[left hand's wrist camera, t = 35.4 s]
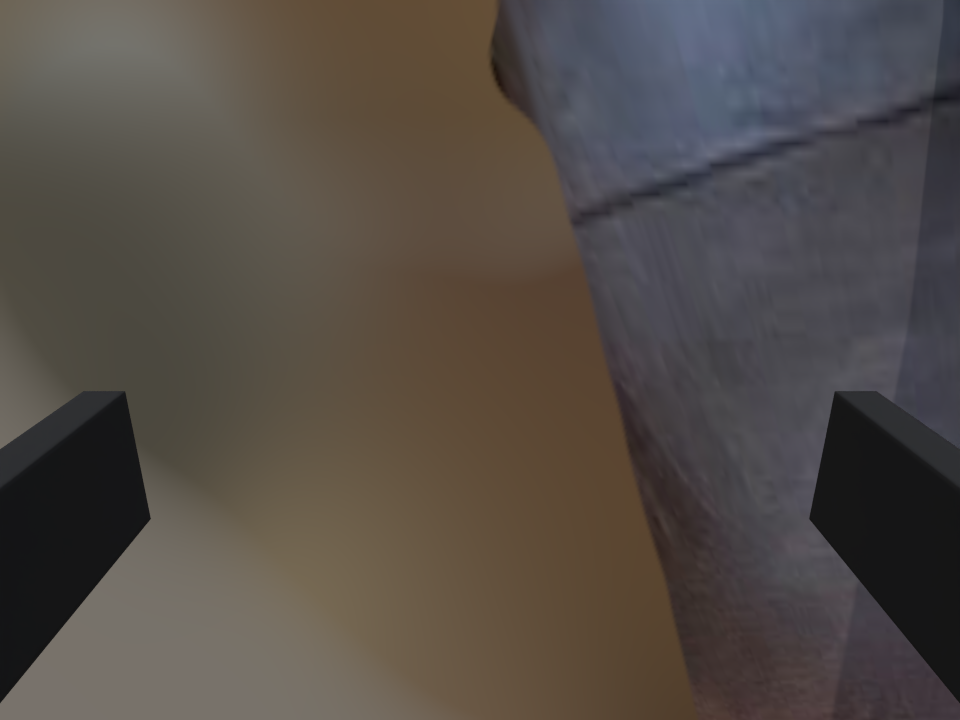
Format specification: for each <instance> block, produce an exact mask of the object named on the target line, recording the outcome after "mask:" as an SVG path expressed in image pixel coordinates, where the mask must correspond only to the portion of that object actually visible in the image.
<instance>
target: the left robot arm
mask: <svg viewBox="0 0 960 720" xmlns="http://www.w3.org/2000/svg"><path fill="white" fill-rule="evenodd" d="M150 519H151V518H150V513H149V508H148V503H147V498H146V493H145V488H144V483H143V478H142V473H141V468H140V464H139V458H138V453H137V449H136V444H135V439H134V434H133V428H132V424H131V419H130V414H129V409H128V404H127V399H126V394H125V391H84V392H82V393H81V394H79V395H78V396H76V397H75V398H73V399H72V400H70V401H69V402H68V403H66V404H65V405H63V406H62V407H60V408H59V409H57V410H56V411H55V412H53V413H52V414H50V415H49V416H47V417H46V418H45V419H43V420H42V421H40V422H39V423H37V424H36V425H35V426H33V427H32V428H30V429H29V430H27V431H26V432H24V433H23V434H22V435H20V436H19V437H17V438H16V439H14V440H13V441H11V442H10V443H9V444H7V445H6V446H4V447H3V448H1V449H0V703H1V701H2V700H3V699H4V698H5V697H6V695H7V694H8V693H9V692H10V690H11V689H12V688H13V687H14V686H15V684H16V683H17V682H18V681H19V679H20V678H21V677H22V676H23V675H24V673H25V672H26V671H27V670H28V668H29V667H30V666H31V665H32V663H33V662H34V661H35V660H36V659H37V657H38V656H39V655H40V654H41V653H42V651H43V650H44V649H45V647H46V646H47V645H48V644H49V643H50V641H51V640H52V639H53V638H54V637H55V635H56V634H57V633H58V632H59V630H60V629H61V628H62V627H63V626H64V624H65V623H66V622H67V621H68V619H69V618H70V617H71V616H72V614H73V613H74V612H75V611H76V610H77V608H78V607H79V606H80V605H81V604H82V602H83V601H84V600H85V599H86V597H87V596H88V595H89V594H90V592H91V591H92V590H93V589H94V588H95V586H96V585H97V584H98V583H99V582H100V580H101V579H102V578H103V577H104V575H105V574H106V573H107V572H108V570H109V569H110V568H111V567H112V566H113V564H114V563H115V562H116V561H117V559H118V558H119V557H120V556H121V555H122V553H123V552H124V551H125V550H126V548H127V547H128V546H129V545H130V544H131V542H132V541H133V540H134V539H135V537H136V536H137V535H138V534H139V533H140V531H141V530H142V529H143V528H144V526H145V525H146V524H147V523H148V522H149V520H150ZM809 519H810V520H811V522H812V523H813V524H814V525H815V526H816V528H817V529H818V530H819V531H820V533H821V534H822V535H823V536H824V537H825V539H826V540H827V541H828V542H829V544H830V545H831V546H832V547H833V548H834V550H835V551H836V552H837V553H838V555H839V556H840V557H841V558H842V560H843V561H844V562H845V563H846V564H847V566H848V567H849V568H850V569H851V571H852V572H853V573H854V574H855V575H856V577H857V578H858V579H859V580H860V582H861V583H862V584H863V585H864V586H865V588H866V589H867V590H868V591H869V593H870V594H871V595H872V596H873V597H874V599H875V600H876V601H877V602H878V604H879V605H880V606H881V607H882V608H883V610H884V611H885V612H886V613H887V615H888V616H889V617H890V618H891V619H892V621H893V622H894V623H895V624H896V626H897V627H898V628H899V629H900V630H901V632H902V633H903V634H904V635H905V637H906V638H907V639H908V640H909V642H910V643H911V644H912V645H913V646H914V648H915V649H916V650H917V651H918V653H919V654H920V655H921V656H922V657H923V659H924V660H925V661H926V662H927V664H928V665H929V666H930V667H931V668H932V670H933V671H934V672H935V673H936V675H937V676H938V677H939V678H940V679H941V681H942V682H943V683H944V684H945V686H946V687H947V688H948V689H949V690H950V692H951V693H952V694H953V695H954V697H955V698H956V699H957V700H958V701H959V703H960V449H959V448H957V447H956V446H954V445H953V444H951V443H950V442H949V441H947V440H946V439H944V438H943V437H941V436H940V435H938V434H937V433H936V432H934V431H933V430H931V429H930V428H928V427H927V426H926V425H924V424H923V423H921V422H920V421H918V420H917V419H915V418H914V417H913V416H911V415H910V414H908V413H907V412H905V411H904V410H903V409H901V408H900V407H898V406H897V405H895V404H894V403H892V402H891V401H890V400H888V399H887V398H885V397H884V396H882V395H881V394H879V393H878V392H877V391H835V394H834V399H833V404H832V409H831V414H830V418H829V423H828V428H827V433H826V438H825V443H824V448H823V453H822V458H821V463H820V468H819V473H818V478H817V483H816V488H815V493H814V498H813V503H812V508H811V513H810V518H809Z"/></svg>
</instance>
